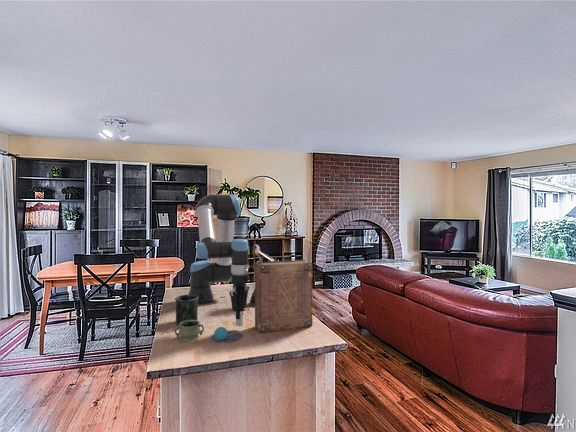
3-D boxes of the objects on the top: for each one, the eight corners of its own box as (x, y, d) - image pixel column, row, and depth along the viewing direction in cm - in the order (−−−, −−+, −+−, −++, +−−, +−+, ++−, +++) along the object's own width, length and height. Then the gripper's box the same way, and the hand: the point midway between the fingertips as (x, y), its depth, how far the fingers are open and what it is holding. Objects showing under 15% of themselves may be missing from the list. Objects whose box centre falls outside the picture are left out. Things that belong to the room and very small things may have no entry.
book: (304, 320, 167) (304, 259, 167) (312, 326, 159) (313, 262, 158) (254, 326, 158) (255, 262, 158) (260, 333, 149) (260, 265, 149)
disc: (205, 338, 142) (205, 338, 142) (224, 329, 154) (224, 328, 154) (231, 344, 137) (231, 343, 137) (248, 333, 148) (248, 333, 148)
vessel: (203, 332, 150) (203, 318, 150) (205, 340, 141) (205, 325, 141) (174, 335, 146) (174, 321, 146) (174, 343, 137) (174, 328, 137)
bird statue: (275, 299, 205) (276, 242, 205) (279, 305, 193) (279, 244, 192) (248, 301, 202) (248, 242, 202) (249, 307, 190) (250, 244, 189)
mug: (199, 318, 170) (199, 294, 170) (197, 327, 155) (197, 301, 155) (176, 319, 168) (176, 295, 167) (172, 329, 153) (172, 302, 153)
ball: (214, 341, 142) (209, 335, 138) (221, 329, 145) (216, 323, 142) (225, 344, 140) (220, 338, 136) (231, 332, 143) (227, 326, 139)
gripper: (238, 276, 146) (238, 331, 146) (254, 272, 157) (253, 322, 158) (224, 275, 149) (223, 328, 149) (240, 270, 161) (240, 320, 161)
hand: (239, 325), depth 154 cm, fingers closed
